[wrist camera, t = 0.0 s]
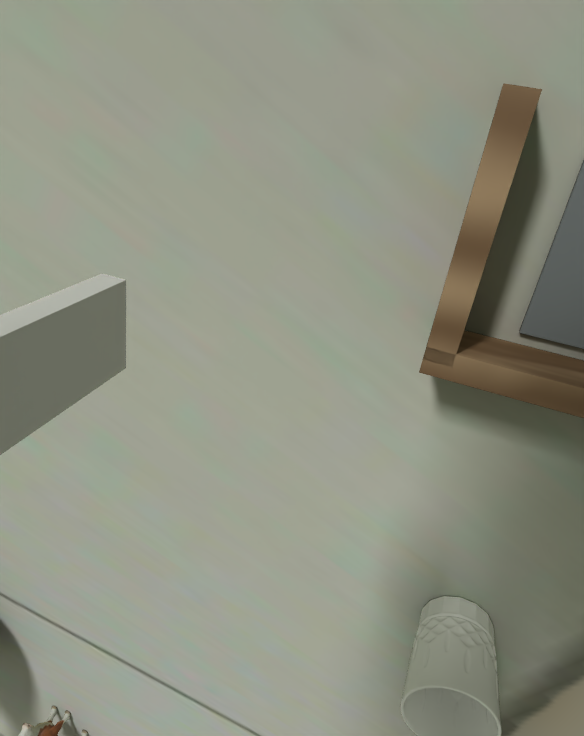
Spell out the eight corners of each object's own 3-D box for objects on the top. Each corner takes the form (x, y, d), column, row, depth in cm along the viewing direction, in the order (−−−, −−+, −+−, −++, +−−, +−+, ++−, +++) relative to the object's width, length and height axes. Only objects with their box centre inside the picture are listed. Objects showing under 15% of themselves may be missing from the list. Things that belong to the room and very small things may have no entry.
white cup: (398, 611, 54) (380, 705, 46) (456, 577, 50) (448, 673, 42) (456, 661, 54) (449, 764, 46) (518, 632, 50) (524, 738, 42)
